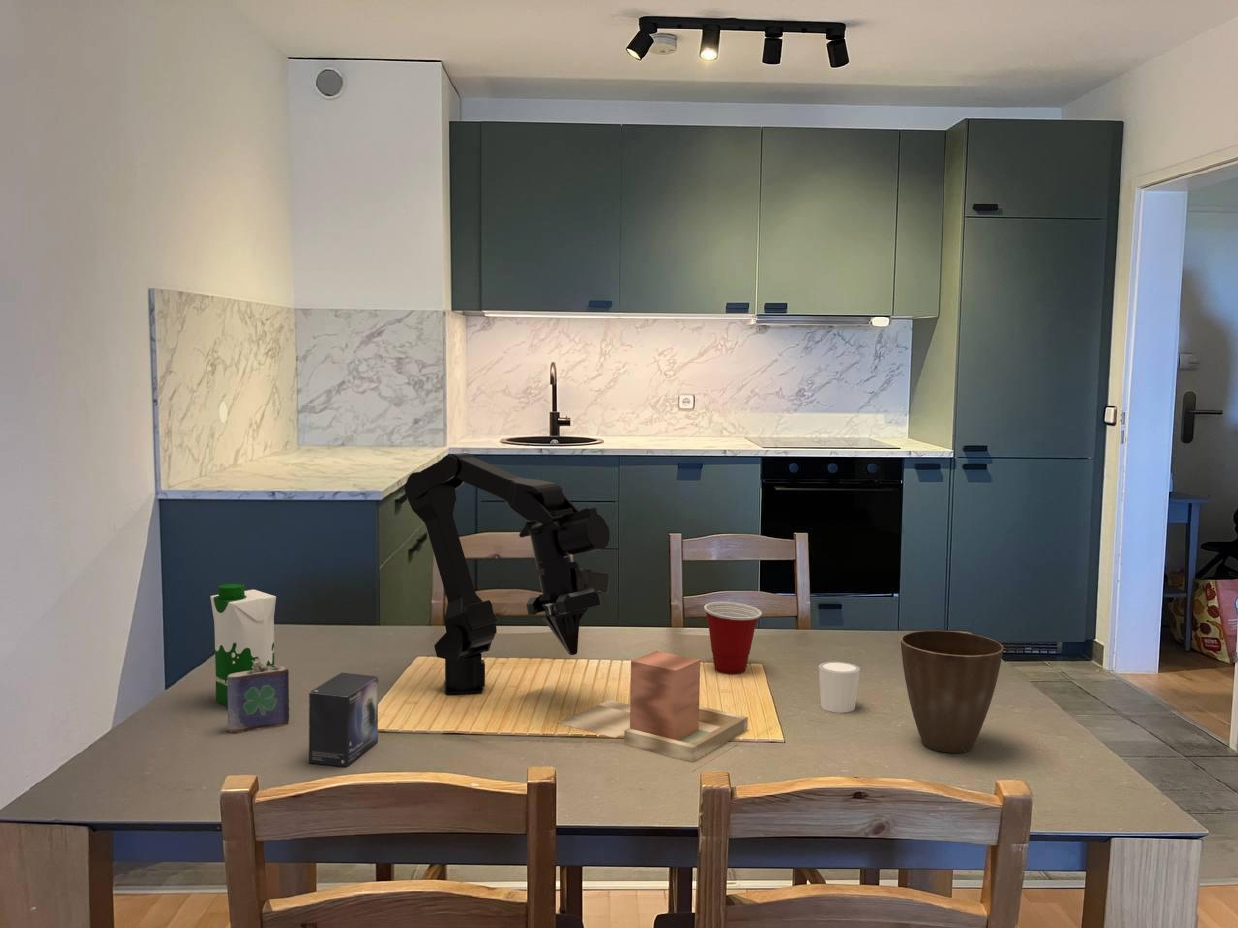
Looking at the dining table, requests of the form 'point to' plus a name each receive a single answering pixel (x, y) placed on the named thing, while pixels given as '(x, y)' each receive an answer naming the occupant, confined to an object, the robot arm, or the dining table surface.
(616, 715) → the shallow open box
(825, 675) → the white tapered cylinder
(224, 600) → the milk carton
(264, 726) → the flask
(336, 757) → the small box
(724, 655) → the plastic cup
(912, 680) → the plant pot
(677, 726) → the block
